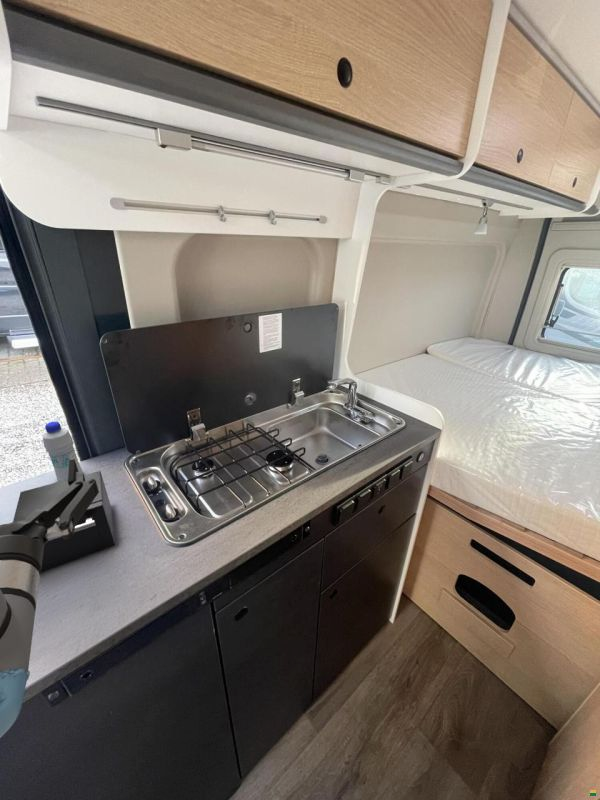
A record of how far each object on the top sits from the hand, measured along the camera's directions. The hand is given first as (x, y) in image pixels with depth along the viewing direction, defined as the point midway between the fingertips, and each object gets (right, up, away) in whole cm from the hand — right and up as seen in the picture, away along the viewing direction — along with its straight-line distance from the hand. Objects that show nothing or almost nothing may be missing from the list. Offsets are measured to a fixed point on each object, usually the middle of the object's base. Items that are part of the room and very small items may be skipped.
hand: (25, 478), depth 54 cm
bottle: (-23, -12, +44) cm, 51 cm away
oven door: (-5, -24, +19) cm, 31 cm away
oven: (-9, -21, +26) cm, 34 cm away
